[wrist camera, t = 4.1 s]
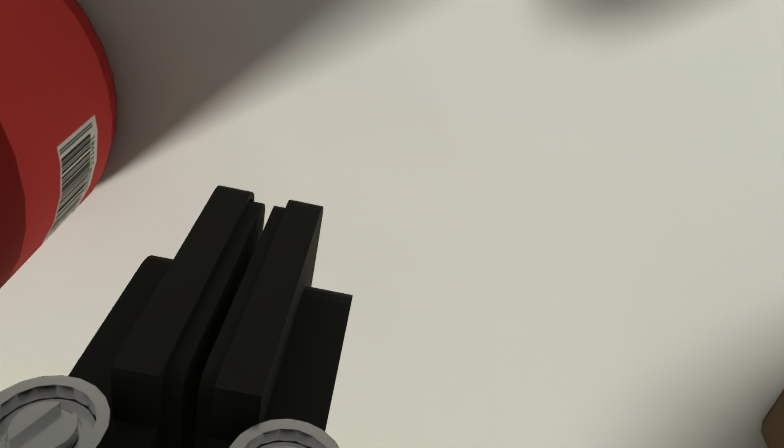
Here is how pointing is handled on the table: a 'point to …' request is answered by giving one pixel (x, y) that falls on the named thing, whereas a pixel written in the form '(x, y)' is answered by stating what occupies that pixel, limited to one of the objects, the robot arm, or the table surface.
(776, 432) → the beer bottle
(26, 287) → the table surface
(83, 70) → the canned food
